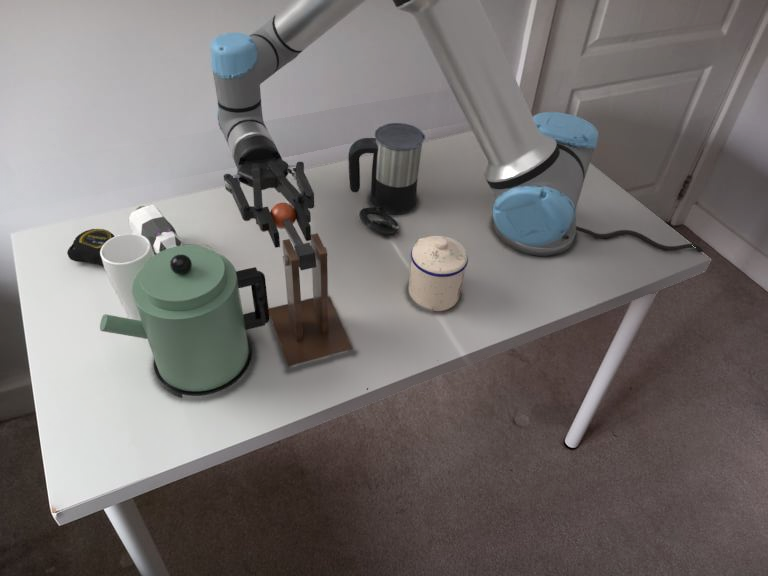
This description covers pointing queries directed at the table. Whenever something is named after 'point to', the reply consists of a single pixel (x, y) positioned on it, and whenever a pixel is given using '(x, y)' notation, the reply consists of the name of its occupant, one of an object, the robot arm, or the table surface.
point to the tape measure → (89, 246)
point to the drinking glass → (125, 266)
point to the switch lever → (293, 234)
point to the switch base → (307, 312)
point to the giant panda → (154, 228)
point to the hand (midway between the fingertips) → (292, 236)
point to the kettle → (194, 318)
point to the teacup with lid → (437, 272)
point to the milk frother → (388, 173)
